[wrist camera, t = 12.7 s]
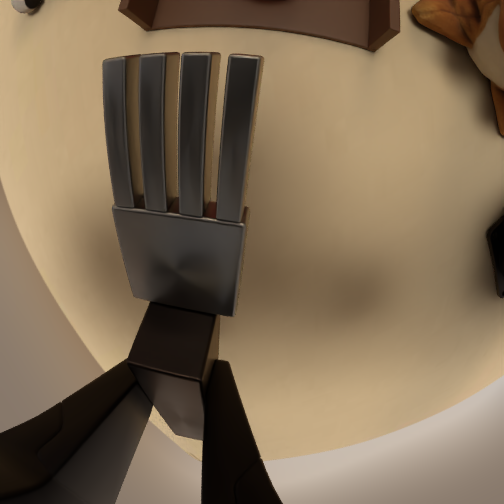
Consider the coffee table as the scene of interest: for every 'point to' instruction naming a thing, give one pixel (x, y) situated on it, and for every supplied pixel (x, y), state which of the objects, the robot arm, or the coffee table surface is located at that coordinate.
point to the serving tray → (277, 17)
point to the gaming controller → (25, 5)
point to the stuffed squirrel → (472, 36)
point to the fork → (180, 213)
